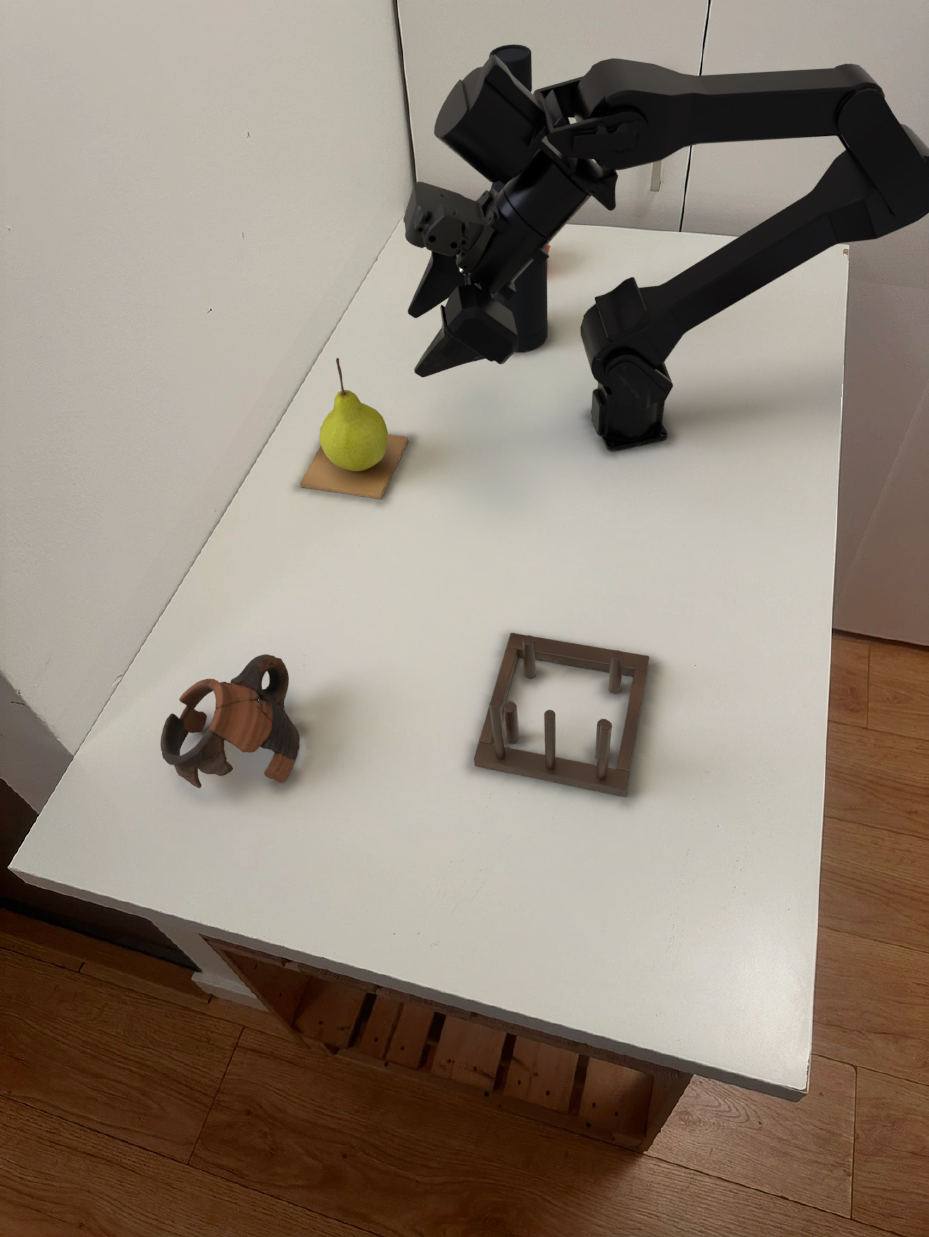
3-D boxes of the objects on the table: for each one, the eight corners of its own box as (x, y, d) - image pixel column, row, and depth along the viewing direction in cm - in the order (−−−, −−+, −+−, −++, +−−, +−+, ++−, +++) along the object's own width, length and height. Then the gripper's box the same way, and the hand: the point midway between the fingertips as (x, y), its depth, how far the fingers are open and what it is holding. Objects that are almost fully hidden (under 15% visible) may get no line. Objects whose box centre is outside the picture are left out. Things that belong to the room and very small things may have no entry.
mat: (331, 430, 95) (330, 426, 95) (408, 440, 93) (408, 436, 93) (300, 487, 90) (299, 483, 90) (381, 499, 88) (380, 495, 88)
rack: (511, 640, 76) (506, 574, 69) (648, 663, 73) (658, 598, 66) (474, 766, 69) (465, 707, 62) (625, 797, 66) (633, 740, 59)
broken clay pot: (275, 821, 68) (193, 785, 63) (213, 795, 75) (133, 760, 69) (339, 684, 72) (266, 638, 66) (275, 670, 78) (203, 628, 73)
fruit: (389, 485, 88) (369, 391, 79) (323, 488, 89) (296, 394, 79) (395, 440, 92) (376, 344, 83) (332, 442, 93) (307, 348, 84)
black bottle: (557, 328, 103) (558, 43, 79) (530, 358, 100) (522, 72, 76) (511, 314, 105) (498, 34, 81) (483, 343, 102) (461, 61, 78)
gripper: (444, 100, 73) (340, 241, 82) (467, 212, 62) (344, 361, 71) (537, 181, 79) (432, 304, 88) (574, 296, 68) (449, 424, 77)
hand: (414, 343), depth 81 cm, fingers open, 9 cm apart
